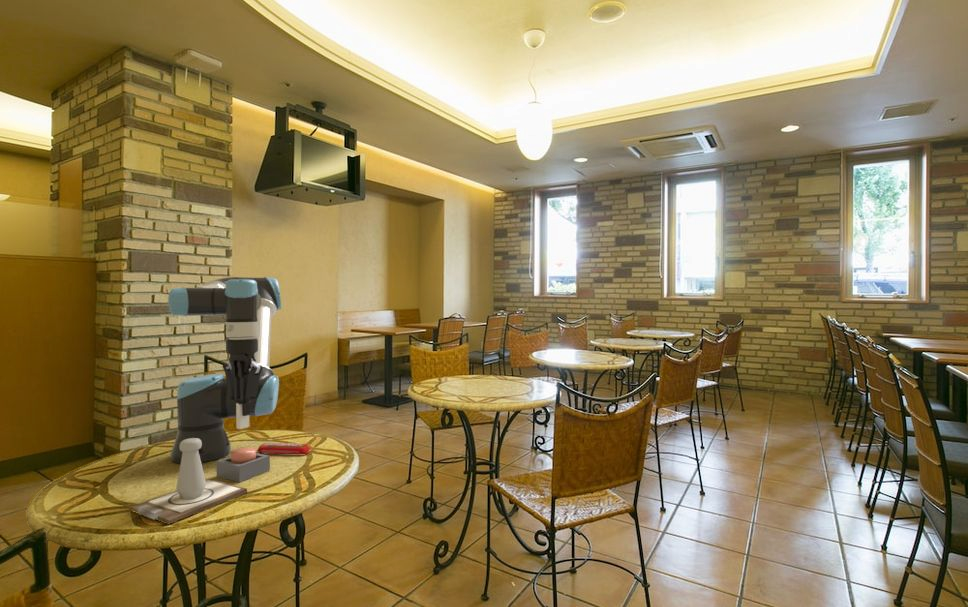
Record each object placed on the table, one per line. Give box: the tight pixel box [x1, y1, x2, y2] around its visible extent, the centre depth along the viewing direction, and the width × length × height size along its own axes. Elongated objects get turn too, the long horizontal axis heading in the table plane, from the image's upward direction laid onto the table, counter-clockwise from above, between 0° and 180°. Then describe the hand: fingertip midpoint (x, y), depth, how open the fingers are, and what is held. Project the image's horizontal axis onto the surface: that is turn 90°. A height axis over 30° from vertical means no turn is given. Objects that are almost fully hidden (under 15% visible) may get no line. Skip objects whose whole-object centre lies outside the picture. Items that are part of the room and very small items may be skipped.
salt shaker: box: [175, 438, 207, 500], centre depth 110 cm, size 6×6×13 cm
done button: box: [230, 446, 257, 464], centre depth 128 cm, size 6×6×3 cm
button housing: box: [216, 452, 271, 483], centre depth 128 cm, size 9×9×4 cm
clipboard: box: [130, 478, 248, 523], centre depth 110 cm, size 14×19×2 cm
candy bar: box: [256, 442, 311, 455], centre depth 144 cm, size 16×4×3 cm, turn 84°
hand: (243, 427), depth 127 cm, fingers closed
